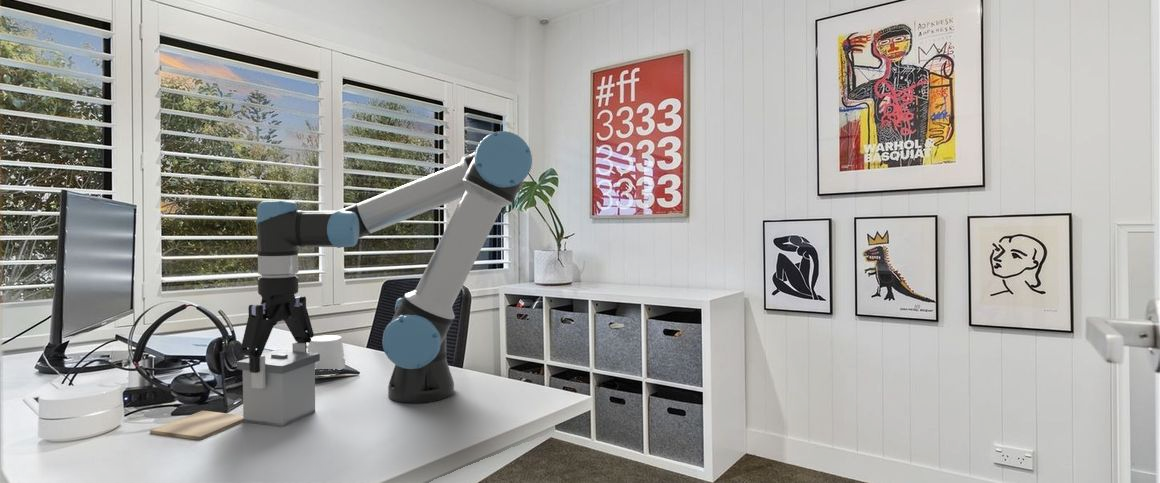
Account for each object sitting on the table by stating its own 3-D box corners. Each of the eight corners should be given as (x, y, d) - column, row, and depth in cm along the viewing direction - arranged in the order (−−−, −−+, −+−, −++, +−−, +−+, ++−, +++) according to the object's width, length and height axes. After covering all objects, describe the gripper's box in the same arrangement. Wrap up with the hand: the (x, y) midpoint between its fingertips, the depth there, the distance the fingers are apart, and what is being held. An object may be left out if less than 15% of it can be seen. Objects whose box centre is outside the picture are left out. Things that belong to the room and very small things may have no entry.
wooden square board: (249, 418, 128) (249, 416, 128) (200, 439, 116) (200, 436, 116) (202, 413, 131) (202, 410, 131) (150, 433, 120) (150, 430, 119)
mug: (344, 333, 168) (344, 340, 161) (345, 367, 169) (345, 375, 162) (296, 336, 164) (294, 343, 157) (297, 371, 165) (294, 379, 157)
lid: (319, 364, 133) (319, 350, 133) (282, 377, 122) (282, 362, 122) (276, 360, 136) (276, 346, 136) (237, 373, 125) (236, 358, 125)
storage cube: (315, 411, 133) (314, 361, 132) (283, 426, 124) (282, 372, 123) (277, 407, 135) (277, 357, 135) (243, 421, 126) (242, 368, 126)
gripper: (301, 269, 140) (303, 364, 141) (216, 281, 118) (219, 394, 119) (330, 270, 138) (331, 367, 140) (249, 282, 116) (251, 398, 117)
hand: (279, 379), depth 129 cm, fingers closed on lid, 11 cm apart
